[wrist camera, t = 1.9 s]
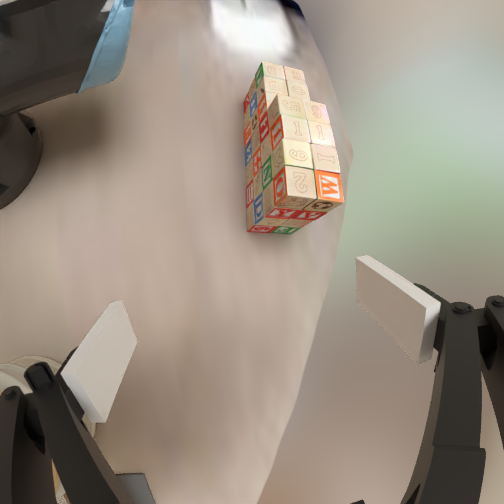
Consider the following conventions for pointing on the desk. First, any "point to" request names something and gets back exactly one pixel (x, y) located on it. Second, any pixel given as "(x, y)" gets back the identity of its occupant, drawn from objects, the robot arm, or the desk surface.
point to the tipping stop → (134, 488)
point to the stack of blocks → (287, 153)
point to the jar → (14, 375)
